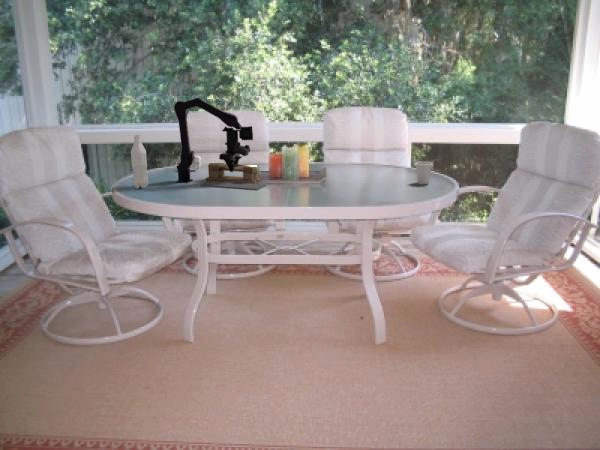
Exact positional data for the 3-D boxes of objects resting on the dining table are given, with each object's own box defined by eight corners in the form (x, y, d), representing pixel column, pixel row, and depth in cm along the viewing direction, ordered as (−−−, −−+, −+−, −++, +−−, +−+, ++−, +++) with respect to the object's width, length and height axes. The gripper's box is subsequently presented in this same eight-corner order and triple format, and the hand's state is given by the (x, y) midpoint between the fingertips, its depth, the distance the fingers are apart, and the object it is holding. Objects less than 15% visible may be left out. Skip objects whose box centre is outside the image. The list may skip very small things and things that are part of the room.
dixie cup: (431, 184, 290) (433, 164, 287) (414, 184, 292) (415, 164, 289) (431, 181, 298) (432, 161, 295) (414, 181, 300) (415, 161, 297)
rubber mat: (257, 190, 280) (257, 188, 280) (200, 186, 290) (200, 184, 289) (266, 185, 290) (266, 184, 290) (210, 181, 300) (210, 180, 299)
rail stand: (254, 184, 293) (254, 168, 291) (205, 180, 302) (204, 165, 299) (261, 180, 301) (261, 165, 299) (213, 177, 310) (213, 162, 308)
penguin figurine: (199, 155, 324) (177, 157, 325) (201, 171, 327) (180, 173, 327) (201, 153, 331) (179, 156, 331) (203, 169, 333) (182, 171, 333)
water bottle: (144, 189, 282) (140, 136, 275) (130, 188, 284) (126, 136, 277) (151, 186, 289) (147, 134, 282) (137, 185, 290) (133, 134, 284)
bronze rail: (255, 173, 294) (255, 166, 293) (208, 170, 303) (208, 163, 302) (258, 172, 297) (258, 165, 296) (211, 169, 306) (211, 162, 305)
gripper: (239, 143, 285) (240, 175, 289) (254, 138, 302) (255, 169, 306) (218, 142, 288) (219, 174, 293) (234, 137, 305) (235, 168, 310)
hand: (233, 171), depth 300 cm, fingers closed on bronze rail, 3 cm apart
